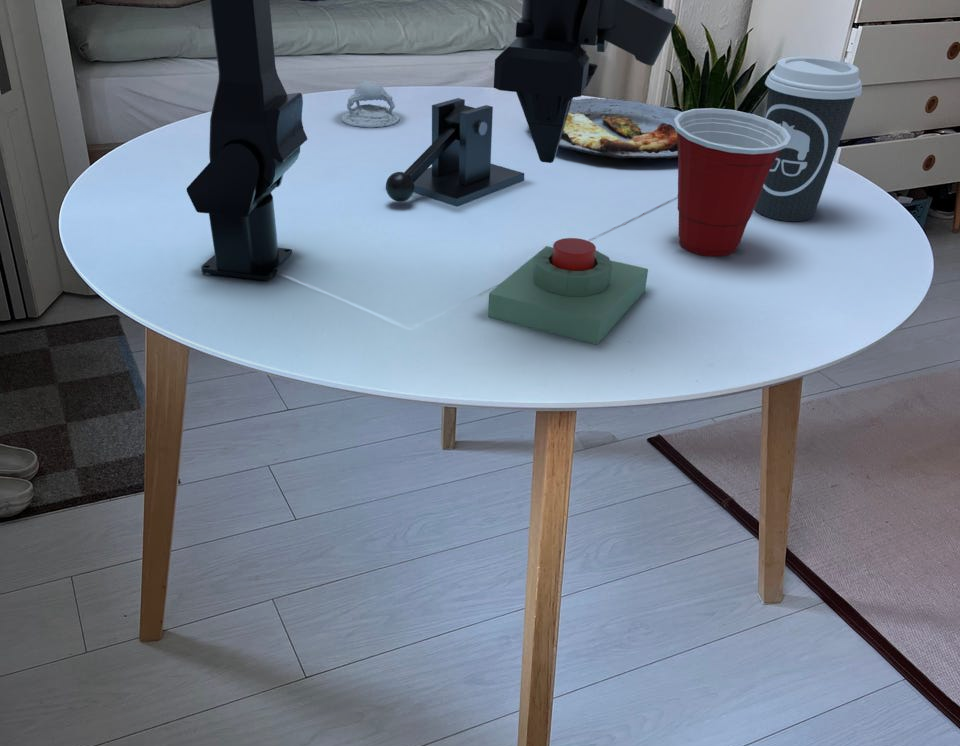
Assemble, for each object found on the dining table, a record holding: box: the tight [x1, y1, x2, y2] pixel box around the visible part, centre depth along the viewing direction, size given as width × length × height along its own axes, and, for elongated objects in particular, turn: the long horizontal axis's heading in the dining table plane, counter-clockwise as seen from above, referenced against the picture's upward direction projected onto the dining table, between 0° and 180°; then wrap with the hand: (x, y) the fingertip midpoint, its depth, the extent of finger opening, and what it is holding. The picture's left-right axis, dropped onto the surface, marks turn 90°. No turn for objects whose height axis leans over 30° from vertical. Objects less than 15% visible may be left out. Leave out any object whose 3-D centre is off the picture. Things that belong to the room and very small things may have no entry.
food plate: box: [558, 97, 682, 160], centre depth 119 cm, size 25×23×4 cm
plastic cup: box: [674, 107, 791, 258], centre depth 88 cm, size 11×11×12 cm
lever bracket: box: [413, 97, 525, 207], centre depth 101 cm, size 12×9×9 cm
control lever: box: [385, 104, 475, 203], centre depth 98 cm, size 14×3×3 cm, turn 141°
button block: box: [487, 245, 649, 346], centre depth 79 cm, size 12×10×4 cm
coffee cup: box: [754, 56, 863, 222], centre depth 97 cm, size 10×10×15 cm
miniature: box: [341, 80, 400, 128], centre depth 124 cm, size 8×8×5 cm
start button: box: [552, 237, 597, 271], centre depth 78 cm, size 4×4×2 cm
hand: (547, 161), depth 75 cm, fingers closed
